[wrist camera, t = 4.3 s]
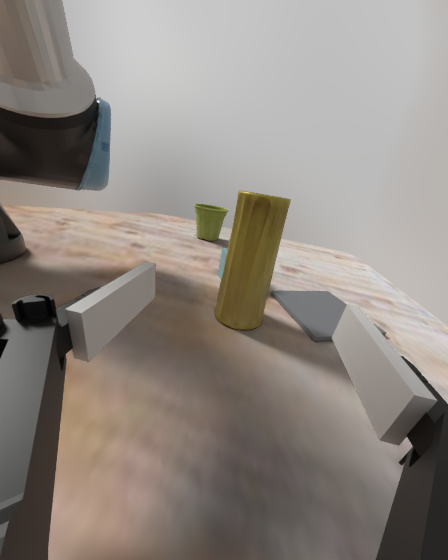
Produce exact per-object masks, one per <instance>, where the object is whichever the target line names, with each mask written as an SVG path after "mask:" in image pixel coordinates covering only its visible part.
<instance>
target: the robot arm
mask: <svg viewBox="0 0 448 560" xmlns="http://www.w3.org/2000/svg"><path fill="white" fill-rule="evenodd" d="M110 127H111V109H110V105H109V104H108V103H107V102H106V101H103V100H102V99H101V98H96V95H95V89H94V85H93V82H92V79H91V77H90V76H89V74H88V73H87V71H86V70H85V69H84V68H83V67H82V66H81V65H80V64H79V63H78V62H77V61H76V60H75V59H74V58H73V53H72V47H71V43H70V37H69V33H68V27H67V22H66V18H65V12H64V7H63V2H62V0H0V180H7V181H15V182H22V183H30V184H37V185H44V186H52V187H59V188H67V189H74V190H95V191H99V190H102V189H104V188H105V187H106V186H107V184H108V178H109V160H110V158H109V157H110V130H111V128H110ZM25 251H26V247H25V243H24V239H23V236H22V234H21V232H20V231H19V229H18V228H17V227H16V225H15V224H14V222H13V221H12V219H11V218H10V217H9V215H8V214H7V212H6V211H5V209H4V208H3V206H2V205H1V204H0V263H2V262H5V261H8V260H11V259H14V258H16V257H18V256H20V255H22V254H23V253H24V252H25ZM155 276H156V264H155V263H150V262H144V263H142V264H140V265H139V266H137V267H135V268H134V269H132V270H130V271H129V272H127V273H125V274H124V275H122V276H120V277H118V278H117V279H115V280H113V281H112V282H110V283H108V284H107V285H105V286H103V287H102V288H100V287H98V288H95V289H92V290H89V291H87V292H85V293H84V294H82V295H81V296H78V297H77V298H75V299H73V300H71V301H69V302H68V303H66V304H64V305H62V306H61V307H59V308H57V309H56V307H55V302H54V298H53V296H51V295H48V294H33V295H28V296H24V297H21V298H19V299H17V300H15V301H14V302H13V303H12V307H13V311H14V314H15V317H16V319H3V318H2V315H1V313H0V560H48V542H49V532H50V522H51V512H52V502H53V492H54V481H55V471H56V461H57V451H58V441H59V431H60V421H61V411H62V400H63V390H64V380H65V370H66V355H65V354H66V353H67V352H69V351H70V350H71V349H73V354H74V358H76V359H80V360H83V361H87V362H89V361H90V360H91V359H92V358H93V357H94V356H96V355H97V354H98V353H99V352H100V351H101V350H102V349H103V348H104V347H105V346H106V345H107V344H108V343H109V342H110V341H111V340H112V339H113V338H114V337H115V336H116V335H117V334H118V333H119V332H120V331H121V330H122V329H123V328H124V327H125V326H126V325H127V324H128V323H129V322H130V321H131V320H132V319H133V318H134V317H136V316H137V315H138V314H139V313H140V312H141V311H142V310H143V309H144V308H145V307H146V306H147V305H148V304H149V303H150V302H151V301H152V300H153V299H154V298H155ZM332 340H333V342H334V344H335V346H336V348H337V350H338V353H339V355H340V357H341V359H342V361H343V363H344V365H345V368H346V370H347V372H348V374H349V376H350V378H351V380H352V383H353V385H354V387H355V389H356V391H357V393H358V395H359V398H360V400H361V402H362V404H363V406H364V408H365V410H366V413H367V415H368V417H369V419H370V421H371V423H372V425H373V427H374V430H375V432H376V434H377V436H378V438H379V440H381V441H384V442H388V443H392V444H395V445H400V444H401V443H402V441H403V440H404V439H405V438H406V437H408V439H409V440H410V442H411V444H412V446H413V447H412V448H411V450H410V451H409V452H408V453H407V454H406V455H405V456H404V457H403V458H402V459H401V461H400V462H399V464H401V465H403V464H404V463H405V464H404V468H403V471H402V474H401V478H400V481H399V484H398V488H397V491H396V494H395V498H394V501H393V504H392V508H391V511H390V514H389V518H388V521H387V524H386V528H385V531H384V534H383V538H382V541H381V544H380V548H379V551H378V554H377V558H376V560H448V404H447V403H446V402H445V400H444V399H443V398H442V397H441V396H440V395H439V394H438V392H437V391H436V390H435V389H434V388H433V387H432V385H431V384H429V383H428V381H427V380H426V379H425V377H424V376H422V374H421V373H420V372H419V371H418V369H417V368H416V367H415V366H414V365H413V364H412V363H410V362H409V361H408V360H407V359H405V358H404V357H403V356H400V355H399V354H398V353H397V351H396V350H395V349H394V348H393V347H392V345H391V344H390V343H389V342H388V341H387V339H386V338H385V337H384V336H383V335H382V333H381V332H380V331H379V330H378V329H377V327H376V326H375V325H374V324H373V323H372V322H371V320H370V319H369V318H368V317H367V316H366V314H365V313H364V312H363V311H362V310H361V308H360V307H357V306H353V305H348V304H347V306H346V308H345V310H344V312H343V314H342V316H341V319H340V321H339V323H338V325H337V327H336V329H335V332H334V334H333V336H332Z"/></svg>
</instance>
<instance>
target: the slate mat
mask: <svg viewBox="0 0 448 560" xmlns="http://www.w3.org/2000/svg"><path fill="white" fill-rule="evenodd" d="M271 294H272V296H273V297H274V298H275V299H276V300H277V301H278V302H279V303H280V304H281V305H282V307H283V308H284V309H285V310H286V311H287V312H288V313H289V314H290V315H291V316H292V317H293V319H294V320H295V321H296V322H297V323H298V324H299V325H300V326H301V327H302V328H303V330H304V331H305V332H306V333H307V334H308V335H309V336H310V337H311V338H312V339H313V341H327V340H332V336H333V334H334V332H335V329H336V327H337V325H338V323H339V321H340V319H341V316H342V314H343V312H344V310H345V308H346V306H347V304H345V303H344V302H342V301H341V300H339V299H338V298H337V297H335V296H334V295H332V294H331V293H330V292H328V291H272V292H271ZM374 325H375V324H374ZM375 326H376V325H375ZM376 327H377V329H378V330H379V331H380V332H381V333H382V335H383V336H385V334H386V332H385V331H383V330H382V329H381V328H379V327H378V326H376Z"/></svg>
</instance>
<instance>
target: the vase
mask: <svg viewBox="0 0 448 560" xmlns="http://www.w3.org/2000/svg"><path fill="white" fill-rule="evenodd" d="M289 205H290V199H286V198H281V197H275V196H270V195H264V194H258V193H252V192H246V191H239V192H238V200H237V206H236V212H235V218H234V223H233V228H232V233H231V237H230V241H229V245H228V250H227V254H226V259H225V265H224V271H223V275H222V279H221V283H220V288H219V293H218V299H217V304H216V307H215V309H214V312H215V316H216V317H217V319H218V320H219V321H220V322H221V323H223V324H224V325H226V326H228V327H231V328H234V329H239V330H250V329H254V328H256V327H258V326H259V325H260V324H261V323H262V321H263V313H264V309H265V304H266V299H267V295H268V291H269V287H270V282H271V278H272V274H273V270H274V265H275V261H276V257H277V253H278V249H279V244H280V240H281V236H282V232H283V228H284V223H285V220H286V216H287V212H288V208H289Z"/></svg>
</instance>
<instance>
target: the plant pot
mask: <svg viewBox="0 0 448 560" xmlns="http://www.w3.org/2000/svg"><path fill="white" fill-rule="evenodd" d="M194 206H195V211H196V221H197V237H198V238H200V239H205V240H207V241H216V240H218V237H219V234H220V230H221V227H222V223H223V220H224V217H225V216H226V213H227V212H228V209H225V208H221V207H217V206H212V205H206V204H194Z"/></svg>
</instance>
